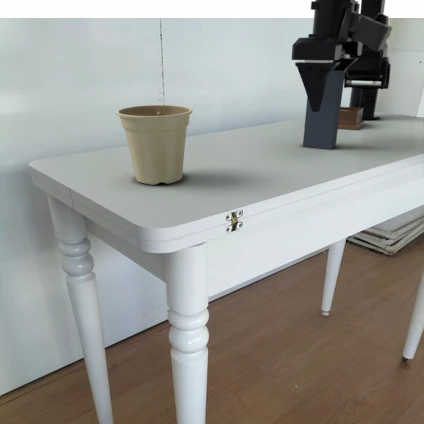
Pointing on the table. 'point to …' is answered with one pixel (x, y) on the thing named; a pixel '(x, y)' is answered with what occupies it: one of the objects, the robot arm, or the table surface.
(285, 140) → the table surface
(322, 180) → the table surface
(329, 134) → the back pad
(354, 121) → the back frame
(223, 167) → the table surface
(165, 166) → the flower pot
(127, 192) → the table surface
